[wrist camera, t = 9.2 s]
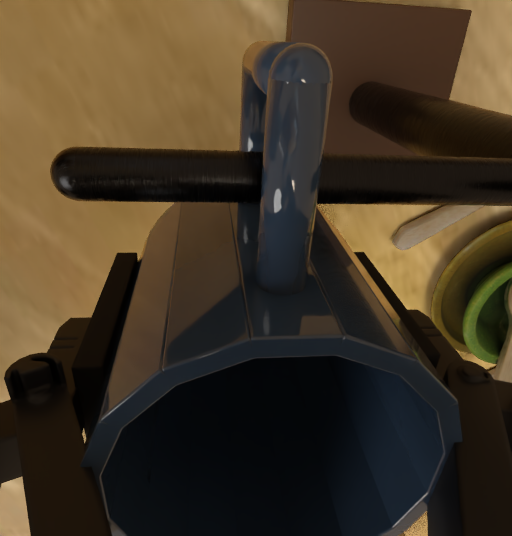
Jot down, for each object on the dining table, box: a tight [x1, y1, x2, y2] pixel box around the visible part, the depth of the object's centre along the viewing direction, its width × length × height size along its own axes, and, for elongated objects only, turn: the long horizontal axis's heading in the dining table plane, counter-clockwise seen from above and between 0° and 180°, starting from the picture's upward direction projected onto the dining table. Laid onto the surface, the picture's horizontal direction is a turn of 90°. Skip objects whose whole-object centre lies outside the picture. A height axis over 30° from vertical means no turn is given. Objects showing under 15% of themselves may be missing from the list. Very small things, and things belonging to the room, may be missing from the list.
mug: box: [80, 41, 463, 536], centre depth 12 cm, size 13×9×10 cm, turn 177°
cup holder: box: [50, 0, 512, 206], centre depth 16 cm, size 10×18×22 cm, turn 87°
